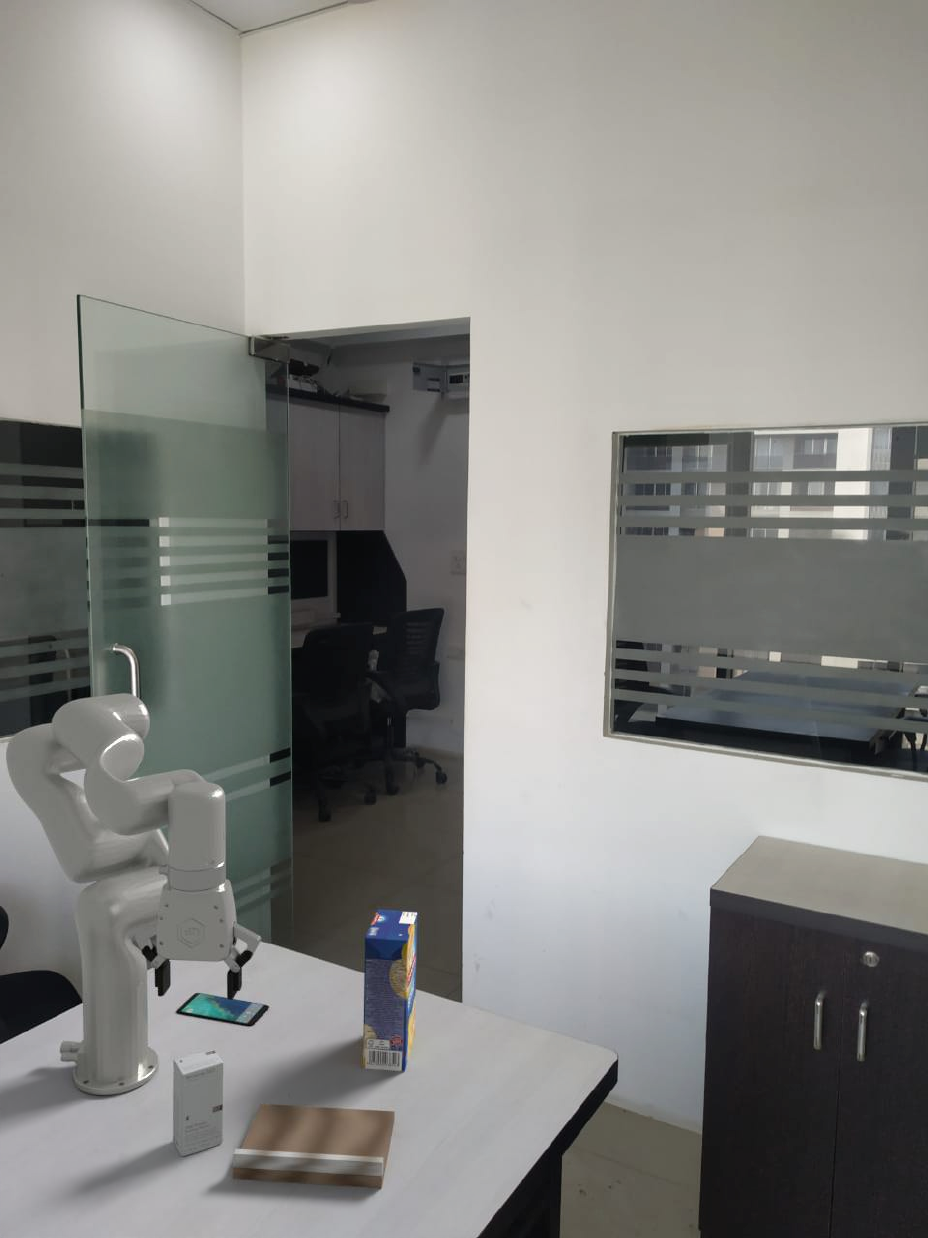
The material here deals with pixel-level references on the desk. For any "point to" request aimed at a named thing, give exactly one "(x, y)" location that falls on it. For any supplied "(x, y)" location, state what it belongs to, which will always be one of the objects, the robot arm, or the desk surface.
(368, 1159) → the shelf board
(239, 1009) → the smartphone
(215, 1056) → the skincare box
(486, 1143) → the desk surface
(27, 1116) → the desk surface
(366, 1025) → the beverage box
